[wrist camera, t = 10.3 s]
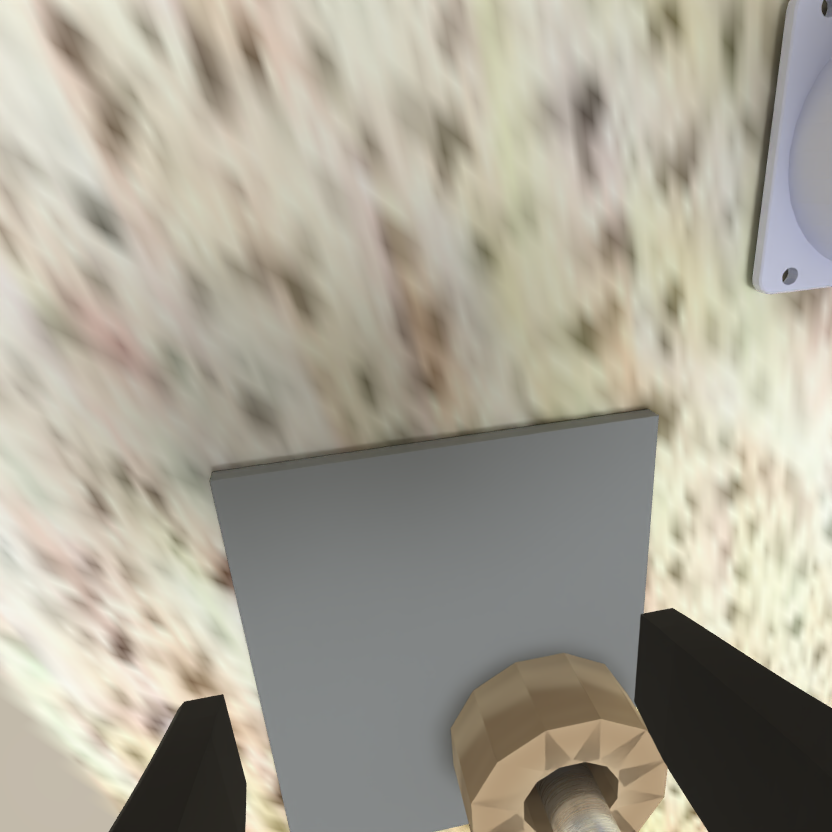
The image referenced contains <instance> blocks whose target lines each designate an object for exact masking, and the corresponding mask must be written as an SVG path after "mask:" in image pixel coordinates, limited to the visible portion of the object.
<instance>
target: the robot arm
mask: <svg viewBox="0 0 832 832" xmlns="http://www.w3.org/2000/svg"><path fill="white" fill-rule="evenodd" d="M826 2H827V6H828V10H827V12H826V15H825V16H824V15H823V13H822V8H821V6H822V3H823V0H790V1H789V3H788V7H787V10H786V18H785V25H784V33H783V41H782V49H781V57H780V65H779V73H778V81H777V88H776V96H775V104H774V112H773V120H772V128H771V136H770V143H769V151H768V159H767V167H766V175H765V183H764V191H763V198H762V206H761V214H760V222H759V230H758V238H757V246H756V253H755V261H754V269H753V277H752V280H753V286H754V288H755V289H756V290H757V291H759V292H762V293H766V294H777V293H785V292H793V291H802V290H810V289H818V288H826V287H832V0H826ZM787 269H788V276H787V278H786V279H785V280H784V281H782V276H783V273H784V272H785V271H786V270H787ZM634 702H635V705H636V707H637V709H638V711H639V713H640V715H641V717H642V719H643V721H644V723H645V725H646V728H647V730H648V732H649V734H650V736H651V738H652V740H653V742H654V744H655V746H656V747H657V749H658V751H659V753H660V755H661V757H662V759H663V761H664V763H665V764H666V766H667V767H668V769H669V771H670V772H671V774H672V775H673V777H674V779H675V780H676V782H677V783H678V785H679V786H680V788H681V790H682V791H683V793H684V794H685V796H686V798H687V799H688V801H689V802H690V804H691V805H692V807H693V809H694V810H695V812H696V813H697V815H698V816H699V818H700V819H701V821H702V822H703V824H704V826H705V827H706V829H707V830H708V832H832V708H831V707H829V706H827V705H826V704H824V703H822V702H821V701H819V700H817V699H816V698H814V697H812V696H811V695H809V694H807V693H806V692H804V691H802V690H801V689H799V688H797V687H796V686H794V685H793V684H791V683H789V682H788V681H786V680H784V679H783V678H781V677H780V676H778V675H776V674H775V673H773V672H772V671H770V670H769V669H767V668H765V667H764V666H762V665H761V664H759V663H758V662H756V661H754V660H753V659H751V658H750V657H748V656H747V655H745V654H744V653H742V652H741V651H739V650H737V649H736V648H734V647H733V646H731V645H730V644H728V643H727V642H725V641H724V640H722V639H721V638H719V637H717V636H716V635H714V634H713V633H711V632H710V631H708V630H707V629H705V628H704V627H702V626H701V625H699V624H697V623H696V622H694V621H693V620H691V619H690V618H688V617H686V616H685V615H683V614H682V613H680V612H678V611H677V610H675V609H673V608H671V609H665V610H660V611H655V612H650V613H645V614H641V616H640V630H639V643H638V656H637V670H636V683H635V697H634ZM245 822H246V780H245V776H244V772H243V769H242V765H241V761H240V757H239V753H238V749H237V745H236V742H235V738H234V734H233V730H232V726H231V722H230V718H229V715H228V711H227V707H226V703H225V699H224V695H223V694H222V695H217V696H212V697H207V698H201V699H196V700H191V701H186V702H184V703H183V704H182V705H181V706H180V708H179V709H178V711H177V713H176V715H175V716H174V718H173V720H172V722H171V724H170V726H169V728H168V730H167V731H166V733H165V735H164V737H163V739H162V741H161V743H160V744H159V746H158V748H157V750H156V752H155V754H154V755H153V757H152V759H151V761H150V763H149V764H148V766H147V768H146V770H145V771H144V773H143V775H142V777H141V778H140V780H139V782H138V784H137V785H136V787H135V789H134V791H133V792H132V794H131V796H130V797H129V799H128V801H127V802H126V804H125V806H124V807H123V809H122V811H121V812H120V814H119V816H118V817H117V819H116V821H115V822H114V824H113V826H112V827H111V829H110V831H109V832H245Z"/></svg>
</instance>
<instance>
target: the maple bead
mask: <svg viewBox="0 0 832 832" xmlns="http://www.w3.org/2000/svg"><path fill="white" fill-rule="evenodd" d="M451 739H452V752H453V765H454V769H455V772H456V776H457V780H458V784H459V788H460V792H461V795H462V799H463V803H464V807H465V811H466V815H467V818H468V822H469V826H470V830H471V832H553V829H552V827H551V824H550V821H549V819H548V816H547V814H546V811H545V809H544V806H543V804H542V801H541V799H540V796H539V794H538V791H537V788H536V786H535V784H536V783H537V782H538V781H540V780H541V779H543V778H544V777H546V776H547V775H549V774H550V773H552V772H554V771H555V770H557V769H558V768H560V767H565V766H569V765H574V764H578V763H583V762H586V763H587V765H588V767H589V769H590V771H591V773H592V775H593V777H594V779H595V781H596V783H597V785H598V787H599V789H600V791H601V793H602V795H603V797H604V799H605V801H606V803H607V805H608V807H609V809H610V811H611V813H612V815H613V817H614V819H615V821H616V823H617V825H618V827H619V829H620V831H621V832H638V831H639V830H640V829H641V827H642V826H643V825H644V823H645V822H646V821H647V819H648V818H649V817H650V815H651V814H652V813H653V811H654V810H655V808H656V807H657V806H658V804H659V803H660V802H661V800H662V799H663V798H664V795H665V786H666V776H667V766H666V764H665V763H664V761H663V759H662V757H661V755H660V753H659V751H658V749H657V747H656V746H655V744H654V742H653V740H652V738H651V736H650V734H649V732H648V730H647V728H646V725H645V723H644V721H643V719H642V717H641V715H640V713H639V712H638V710H637V709H636V707H635V705H634V704H633V702H632V701H631V699H630V698H629V696H628V694H627V693H626V692H625V690H624V689H623V688H622V686H621V685H620V684H619V682H618V681H617V680H616V678H615V677H614V676H613V674H612V673H611V672H610V671H609V669H608V668H607V667H606V665H605V664H602V663H599V662H595V661H592V660H588V659H585V658H581V657H577V656H574V655H570V654H567V653H561V654H556V655H550V656H545V657H540V658H535V659H530V660H525V661H520V662H515V663H514V664H512V665H511V666H509V667H508V668H506V669H505V670H503V671H502V672H500V673H499V674H497V675H496V676H494V677H493V678H491V679H490V680H488V681H487V682H485V683H484V684H482V685H481V686H479V687H478V688H476V689H475V690H473V692H472V693H471V695H470V697H469V698H468V700H467V702H466V703H465V705H464V707H463V709H462V710H461V712H460V714H459V715H458V717H457V719H456V720H455V722H454V724H453V725H452V727H451Z"/></svg>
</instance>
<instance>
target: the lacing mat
mask: <svg viewBox="0 0 832 832" xmlns="http://www.w3.org/2000/svg"><path fill="white" fill-rule="evenodd" d="M658 418H659V415H657V414H655V413H654V412H652V411H651V410H649V409H646V410H639V411H632V412H625V413H618V414H612V415H605V416H598V417H591V418H584V419H577V420H570V421H563V422H556V423H549V424H542V425H535V426H528V427H521V428H514V429H507V430H500V431H494V432H487V433H480V434H473V435H466V436H459V437H452V438H445V439H438V440H431V441H424V442H417V443H410V444H403V445H396V446H389V447H382V448H376V449H369V450H362V451H355V452H348V453H341V454H334V455H327V456H320V457H313V458H306V459H299V460H292V461H285V462H278V463H271V464H264V465H258V466H251V467H244V468H237V469H230V470H223V471H216V472H212V475H211V478H210V485H211V490H212V494H213V498H214V503H215V507H216V511H217V516H218V520H219V524H220V529H221V533H222V537H223V542H224V546H225V550H226V555H227V559H228V563H229V568H230V572H231V576H232V581H233V585H234V589H235V594H236V598H237V603H238V607H239V611H240V616H241V620H242V624H243V629H244V633H245V637H246V642H247V646H248V650H249V655H250V659H251V663H252V668H253V672H254V676H255V681H256V685H257V689H258V694H259V698H260V702H261V707H262V711H263V715H264V720H265V724H266V728H267V733H268V737H269V741H270V746H271V750H272V754H273V759H274V763H275V767H276V772H277V776H278V780H279V785H280V789H281V793H282V798H283V802H284V807H285V811H286V815H287V820H288V824H289V828H290V832H435V831H440V830H444V829H448V828H453V827H457V826H461V825H466V824H469V822H468V818H467V815H466V811H465V807H464V803H463V799H462V795H461V792H460V788H459V784H458V780H457V776H456V772H455V769H454V765H453V752H452V739H451V727H452V725H453V724H454V722H455V720H456V719H457V717H458V715H459V714H460V712H461V710H462V709H463V707H464V705H465V703H466V702H467V700H468V698H469V697H470V695H471V693H472V692H473V690H475V689H476V688H478V687H479V686H481V685H482V684H484V683H485V682H487V681H488V680H490V679H491V678H493V677H494V676H496V675H497V674H499V673H500V672H502V671H503V670H505V669H506V668H508V667H509V666H511V665H512V664H514V663H515V662H520V661H525V660H530V659H535V658H540V657H545V656H550V655H556V654H561V653H567V654H570V655H574V656H577V657H581V658H585V659H588V660H592V661H595V662H599V663H602V664H605V665H606V667H607V668H608V669H609V671H610V672H611V673H612V674H613V676H614V677H615V678H616V680H617V681H618V682H619V684H620V685H621V686H622V688H623V689H624V690H625V692H626V693H627V694H628V696H629V698H630V699H631V701H632V702H633V704H634V705H635V702H634V697H635V683H636V670H637V656H638V643H639V630H640V616H641V614H643V613H644V600H645V587H646V574H647V561H648V548H649V535H650V522H651V509H652V496H653V483H654V470H655V457H656V444H657V431H658ZM635 707H636V705H635Z"/></svg>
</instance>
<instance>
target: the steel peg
mask: <svg viewBox="0 0 832 832" xmlns="http://www.w3.org/2000/svg"><path fill="white" fill-rule="evenodd" d="M535 786H536V788H537V791H538V794H539V796H540V799H541V801H542V804H543V806H544V809H545V811H546V814H547V816H548V819H549V821H550V824H551V827H552V829H553V832H621V831H620V829H619V827H618V825H617V823H616V821H615V819H614V817H613V815H612V813H611V811H610V809H609V807H608V805H607V803H606V801H605V799H604V797H603V795H602V793H601V791H600V789H599V787H598V785H597V783H596V781H595V779H594V777H593V775H592V773H591V771H590V769H589V767H588V765H587V763H586V762H583V763H578V764H574V765H569V766H565V767H560V768H558V769H557V770H555V771H554V772H552V773H550V774H549V775H547V776H546V777H544V778H543V779H541V780H540V781H538V782H537V783H536V784H535Z"/></svg>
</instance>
